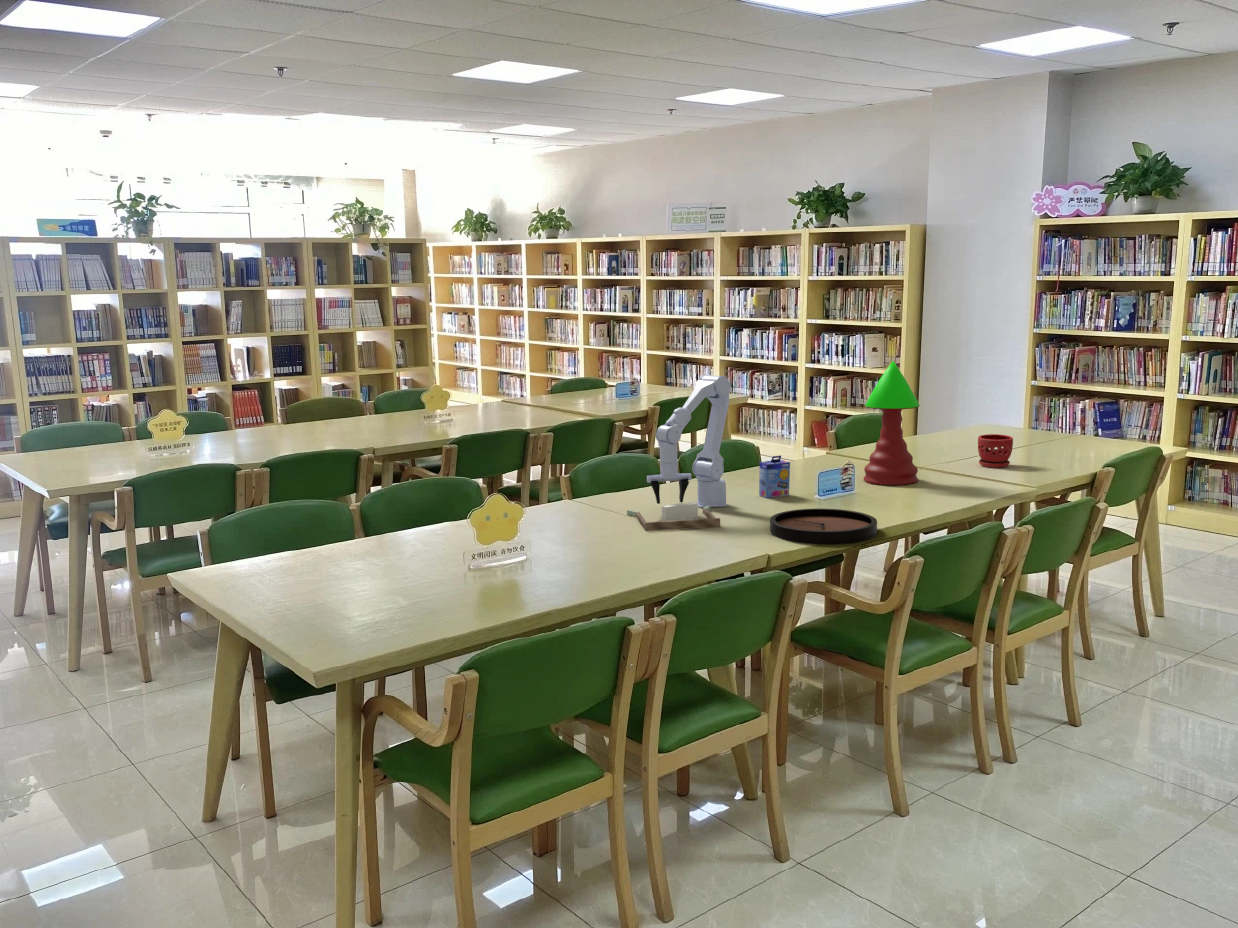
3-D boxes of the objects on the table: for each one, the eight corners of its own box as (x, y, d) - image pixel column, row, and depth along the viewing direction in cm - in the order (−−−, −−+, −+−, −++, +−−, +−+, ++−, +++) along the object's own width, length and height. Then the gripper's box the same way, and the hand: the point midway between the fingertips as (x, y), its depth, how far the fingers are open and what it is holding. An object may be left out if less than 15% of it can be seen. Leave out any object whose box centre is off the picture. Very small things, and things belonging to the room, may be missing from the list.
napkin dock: (710, 509, 335) (710, 502, 335) (727, 526, 311) (727, 518, 311) (626, 514, 332) (626, 506, 331) (637, 531, 308) (637, 523, 308)
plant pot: (969, 465, 404) (970, 435, 402) (994, 462, 410) (995, 433, 408) (994, 470, 393) (995, 439, 391) (1019, 467, 398) (1020, 437, 396)
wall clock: (898, 524, 292) (804, 536, 281) (898, 538, 293) (804, 550, 282) (839, 504, 321) (751, 514, 310) (839, 517, 322) (751, 527, 311)
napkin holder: (657, 525, 318) (656, 507, 317) (660, 517, 329) (660, 500, 328) (704, 525, 316) (704, 507, 315) (706, 517, 327) (706, 500, 326)
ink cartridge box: (766, 498, 351) (766, 457, 349) (758, 495, 356) (758, 455, 354) (790, 495, 355) (790, 455, 353) (781, 492, 360) (781, 452, 358)
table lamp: (924, 485, 366) (927, 361, 359) (869, 486, 367) (871, 362, 359) (910, 475, 386) (913, 357, 378) (858, 476, 386) (859, 359, 379)
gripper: (687, 458, 334) (688, 498, 336) (644, 461, 332) (645, 501, 334) (692, 462, 327) (693, 503, 329) (648, 464, 325) (649, 505, 327)
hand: (669, 502), depth 331 cm, fingers open, 7 cm apart
